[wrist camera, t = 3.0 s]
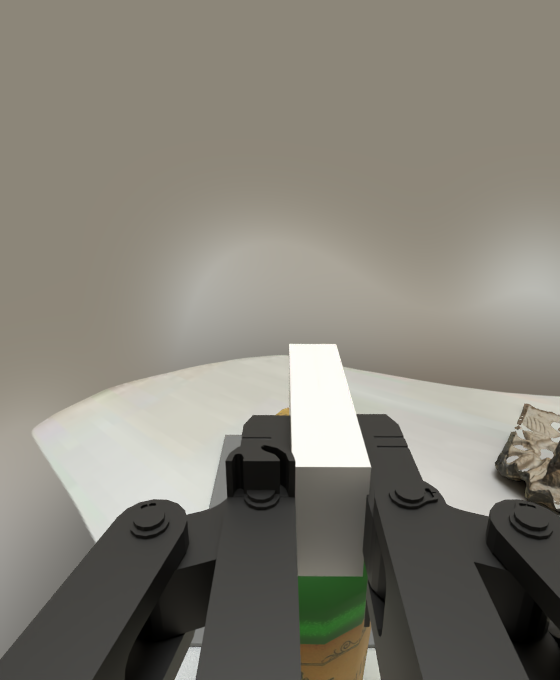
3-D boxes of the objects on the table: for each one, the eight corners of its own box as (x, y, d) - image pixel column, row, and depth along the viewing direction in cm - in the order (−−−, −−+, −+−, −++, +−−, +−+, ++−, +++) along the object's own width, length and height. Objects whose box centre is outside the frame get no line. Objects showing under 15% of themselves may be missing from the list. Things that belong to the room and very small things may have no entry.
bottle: (299, 855, 30) (305, 505, 21) (204, 723, 38) (175, 418, 28) (392, 727, 37) (430, 419, 28) (297, 637, 45) (299, 367, 35)
